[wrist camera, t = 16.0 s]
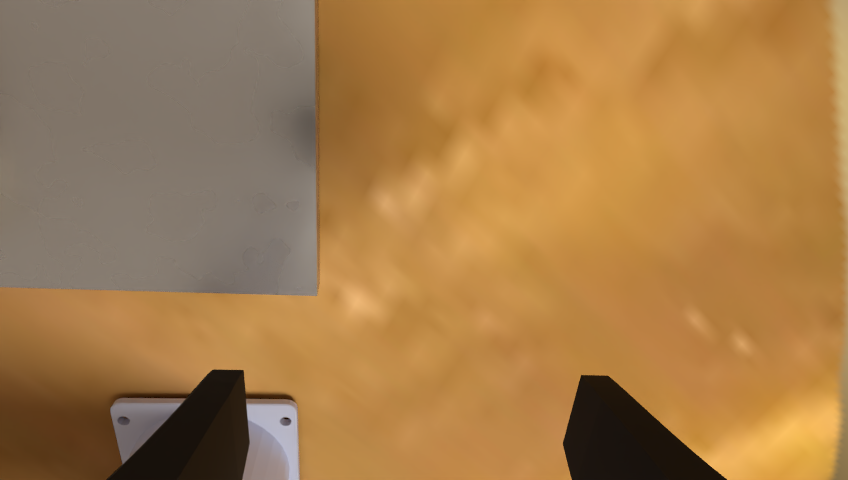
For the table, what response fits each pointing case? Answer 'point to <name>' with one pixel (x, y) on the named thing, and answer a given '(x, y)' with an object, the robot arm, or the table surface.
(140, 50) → the rail board
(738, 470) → the table surface
